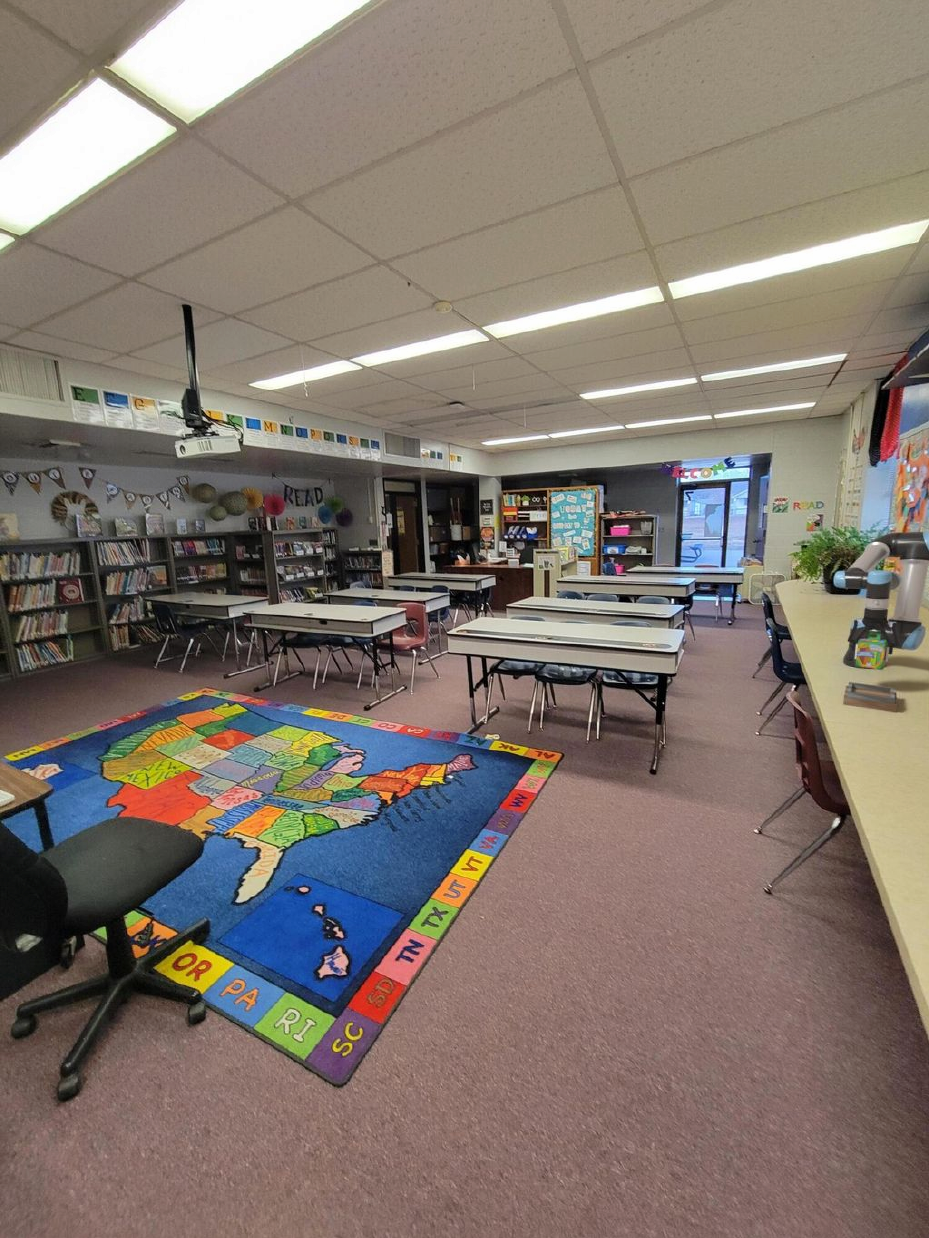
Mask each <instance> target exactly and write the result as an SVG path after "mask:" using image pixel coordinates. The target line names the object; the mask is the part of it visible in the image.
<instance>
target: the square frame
mask: <svg viewBox="0 0 929 1238" xmlns="http://www.w3.org/2000/svg"><path fill="white" fill-rule="evenodd" d="M842 705H845V706H846V705H847V706H851V707H857V708H858V707H860V708H865V709H871V710H872V709H873V710H878V711H885V712H891V713H897V707H898V697H897V691H895V687H891V686H883V685H876V684H875V685H874V684H867V683H858V682H851V681H849V682H848V685H845V690H844V695H843V702H842Z"/></svg>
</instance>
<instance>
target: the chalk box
mask: <svg viewBox="0 0 929 1238" xmlns="http://www.w3.org/2000/svg"><path fill="white" fill-rule="evenodd" d="M871 634H876V635H877V637H871V636H870V635H871ZM887 645H888V643H887V641H886V639H883V638H881V632H874V631H867V636H866V637H863V636H862V637H861V638H860V639H859V641H858V648H857V655H856V663H855V666H858V667H865V668H864V669H869V668H872V669H873V670H878V671H883V670H884V668H885V665H886V662H885V659H886V650H887ZM858 667H857V668H858Z"/></svg>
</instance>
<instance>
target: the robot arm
mask: <svg viewBox="0 0 929 1238" xmlns="http://www.w3.org/2000/svg"><path fill="white" fill-rule="evenodd" d="M888 558H899V561H898V562H900V563H901V565H902V568H901V569H902V570H901V574H898V573H897V572H894V571H890V570H884V569H883V570H879V569H877V570H874V569H875V568H876V567H877V566H878V565H879V563H880V562H881V561H884V560H886V559H888ZM928 568H929V531H912V532H911V531H910V532H909V531H908V532H904V531H903V532H900V531H899V532H898V531H897V532H890V533H886V534H884V535H881V536H879V537H877V538H875V539H873V540H871V541H870V542H869V543H868V544H867V545H866V546H865V547H864V551H863V553H862V554H861V555H860V556H859V557H858V558H857V559H856V560H855V561H854V562H853V563H852V564H851V566H849V568H848V569H846V570H838V571H836V572H835V574H834V576H833V585H834V586H835V587H836V588H840V589H855V590H857V589H858V590H866V591H865V592H866V593H865V600H864V601H865V602H864V607H865V608H864V610H863V611H864V612H863V617H860V618H855V619H852V621H851V624H850V628H849V629H850V630H849V636H848V638H847V642H849V643H848V649H847V650H846V652H845V653H844V656H843V658H842V663H843V664H844V665H845V666H846V665H847V666H849V667H854V668H860V669H866V668H865V667H858V666H855V663H856V655H857V648H858V641H859V639H860V638H861V637H862V636H863V637H866V636H867V631H874V632H881V638H883V639H886V641H887V643H888V645H887V650H886V659H885V663H888V661H889V655H892V654H893V652H894V651H893V650H894V649H898V650H906V651H914V650H917V649H919V647H920V646H921V645H922V644H923V641H924V638H925V636H926V630H927V629H926V627H925V626H924V625H923V622H922V620H920V619H919V616H920V609H921V606H922V605H921V604H922V599H923V596H924V589H925V584H926V579H927V578H926V577H927V573H928ZM897 588H898V589H897ZM895 589H897V595H896V600H895V601H896V602H895V606H894V611H893V615H892V616H891V617H889V618H888V613H889V610H888V608H889V604H890V595H891V591H893V590H895ZM870 636H871V637H877V635H876V634H871V635H870ZM868 669H872V668H868Z"/></svg>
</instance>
